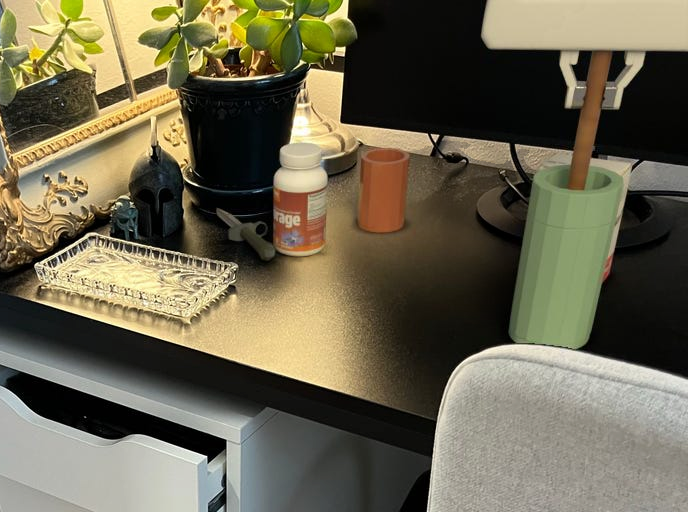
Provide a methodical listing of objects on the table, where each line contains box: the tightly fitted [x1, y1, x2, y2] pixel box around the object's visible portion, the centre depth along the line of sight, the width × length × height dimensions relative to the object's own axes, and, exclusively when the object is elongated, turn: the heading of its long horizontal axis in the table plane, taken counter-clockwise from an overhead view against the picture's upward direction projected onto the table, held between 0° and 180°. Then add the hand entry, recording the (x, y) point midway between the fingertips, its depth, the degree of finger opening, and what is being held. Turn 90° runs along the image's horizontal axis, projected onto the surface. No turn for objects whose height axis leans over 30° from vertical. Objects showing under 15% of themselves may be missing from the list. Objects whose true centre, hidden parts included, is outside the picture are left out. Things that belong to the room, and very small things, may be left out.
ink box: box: [537, 152, 633, 284], centre depth 107 cm, size 9×5×12 cm, turn 56°
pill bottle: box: [273, 141, 329, 257], centre depth 116 cm, size 6×6×11 cm
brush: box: [566, 50, 613, 191], centre depth 89 cm, size 3×3×21 cm
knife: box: [216, 207, 277, 262], centre depth 123 cm, size 19×2×5 cm
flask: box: [508, 164, 624, 350], centre depth 96 cm, size 8×8×15 cm
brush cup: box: [357, 147, 411, 234], centre depth 121 cm, size 6×6×8 cm
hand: (591, 107), depth 87 cm, fingers closed on brush
